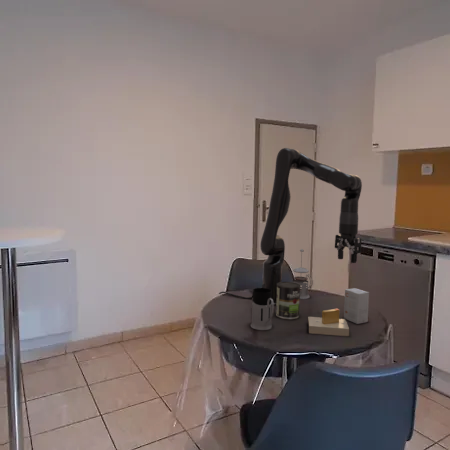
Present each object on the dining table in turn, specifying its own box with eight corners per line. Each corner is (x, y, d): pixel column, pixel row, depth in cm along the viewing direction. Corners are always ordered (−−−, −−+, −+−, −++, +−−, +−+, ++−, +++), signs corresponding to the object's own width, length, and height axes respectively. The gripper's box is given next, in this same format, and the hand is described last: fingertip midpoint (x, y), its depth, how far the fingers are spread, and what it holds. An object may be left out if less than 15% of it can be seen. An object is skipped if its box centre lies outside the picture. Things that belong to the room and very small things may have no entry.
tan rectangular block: (324, 324, 150) (324, 311, 149) (321, 322, 151) (322, 309, 151) (339, 322, 152) (339, 309, 152) (336, 320, 154) (336, 308, 153)
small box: (368, 322, 161) (369, 292, 160) (357, 324, 159) (358, 293, 157) (354, 316, 169) (355, 287, 167) (343, 318, 166) (344, 289, 165)
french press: (298, 292, 206) (299, 247, 204) (316, 297, 198) (318, 249, 195) (286, 295, 200) (288, 248, 197) (305, 300, 191) (307, 251, 189)
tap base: (309, 333, 148) (309, 325, 148) (307, 323, 159) (308, 316, 159) (349, 336, 145) (349, 328, 145) (345, 326, 156) (345, 318, 156)
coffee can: (304, 317, 166) (305, 285, 165) (285, 320, 162) (286, 288, 160) (289, 310, 176) (290, 280, 174) (271, 313, 171) (272, 282, 169)
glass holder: (266, 321, 161) (267, 286, 159) (282, 333, 147) (283, 295, 146) (247, 323, 158) (247, 288, 156) (262, 336, 144) (263, 297, 143)
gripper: (330, 221, 164) (329, 258, 165) (352, 224, 151) (350, 264, 152) (345, 221, 166) (343, 257, 168) (367, 224, 153) (365, 263, 155)
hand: (346, 260), depth 160 cm, fingers open, 8 cm apart
